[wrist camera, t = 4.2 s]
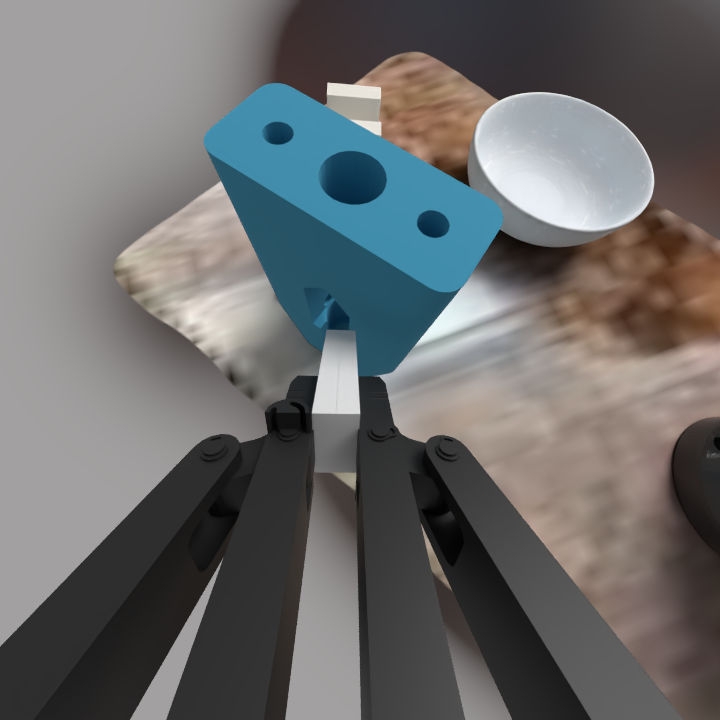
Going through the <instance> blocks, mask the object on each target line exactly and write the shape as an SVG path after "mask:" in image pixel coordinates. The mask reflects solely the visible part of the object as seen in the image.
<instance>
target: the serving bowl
mask: <svg viewBox="0 0 720 720" xmlns="http://www.w3.org/2000/svg"><path fill="white" fill-rule="evenodd" d="M468 178H469V184H470V188H472V189H474V190H476V191H478V192H479V193H481V194H483V195H485V196H487V197H488V198H490V199H491V200H493V201H494V202H495V203H496V204H497V205H498V206H499V207H500V209H501V211H502V214H503V224H502V226H501V228H500V230H502V231H503V232H505V233H507V234H508V235H510V236H512V237H514V238H516V239H518V240H521V241H524V242H527V243H530V244H534V245H539V246H546V247H569V246H576V245H580V244H585V243H588V242H591V241H594V240H597V239H599V238H602V237H604V236H606V235H608V234H610V233H612V232H614V231H616V230H618V229H619V228H621V227H623V226H625V225H626V224H628V223H629V222H631V221H632V220H634V219H635V218H636V217H638V216H639V215H640V214H641V213H642V212H643V210H644V209H645V208H646V206H647V205H648V203H649V201H650V199H651V196H652V192H653V187H654V175H653V169H652V165H651V162H650V160H649V157H648V155H647V153H646V151H645V150H644V148H643V146H642V145H641V143H640V142H639V140H638V139H637V138H636V137H635V135H634V134H633V133H632V132H631V131H630V130H629V129H628V128H627V127H626V126H625V125H624V124H622V123H621V122H620V121H619V120H617V119H616V118H615V117H613V116H612V115H610V114H609V113H607V112H605V111H604V110H602V109H600V108H598V107H596V106H594V105H592V104H590V103H587V102H585V101H582V100H580V99H577V98H573V97H570V96H566V95H561V94H554V93H544V92H542V93H541V92H537V93H536V92H534V93H523V94H518V95H513V96H510V97H507V98H505V99H503V100H500V101H499V102H497V103H495V104H494V105H492V106H491V107H490V108H489V109H487V110H486V111H485V112H484V114H483V115H482V116H481V118H480V120H479V121H478V123H477V125H476V128H475V131H474V134H473V138H472V141H471V145H470V149H469V155H468Z"/></svg>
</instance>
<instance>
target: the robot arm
mask: <svg viewBox="0 0 720 720" xmlns="http://www.w3.org/2000/svg"><path fill="white" fill-rule="evenodd" d="M265 417H266V424H267V430H268V434H267V435H265V436H263V437H261V438H258V439H255V440H251V441H247V442H243V443H239V441H238V440H237V439H236V437H234V436H231V435H226V434H220V435H216V436H211V437H209V438H207V439H205V440H203V441H201V442H200V443H199V444H197V445H196V446H195V447H194V448H193V449H192V450H191V451H190V452H189V453H188V454H187V455H186V456H185V457H184V458H183V459H182V460H181V461H180V462H179V463H178V464H177V465H176V466H175V467H174V468H173V470H172V471H170V472H169V474H168V475H167V476H166V477H165V478H164V479H163V480H162V481H161V482H160V483H159V484H158V485H157V486H156V487H155V488H154V489H153V490H152V491H151V492H150V493H149V494H148V495H147V496H146V497H145V498H144V499H143V500H142V501H141V502H140V503H139V504H138V505H137V507H135V509H134V510H133V511H132V512H131V513H130V514H129V515H128V516H127V517H126V518H125V519H124V520H123V521H122V522H121V523H120V524H119V525H118V526H117V527H116V528H115V529H114V530H113V531H112V532H111V533H110V534H109V535H108V536H107V537H106V538H105V540H103V542H102V543H101V544H100V545H99V546H98V547H97V548H96V549H95V550H94V551H93V552H92V553H91V554H90V555H89V556H88V557H87V558H86V559H85V560H84V561H83V562H82V563H81V564H80V565H79V566H78V567H77V568H76V569H75V570H74V571H73V572H72V573H71V574H70V576H68V578H67V579H66V580H65V581H64V582H63V583H62V584H61V585H60V586H59V587H58V588H57V589H56V590H55V591H54V592H53V593H52V594H51V595H50V596H49V597H48V598H47V599H46V600H45V601H44V602H43V603H42V604H41V605H40V606H39V607H38V608H37V609H36V611H35V612H34V613H33V614H32V615H31V616H30V617H29V618H28V619H27V620H26V621H25V622H24V623H23V624H22V625H21V626H20V627H19V628H18V629H17V630H16V631H15V632H14V633H13V634H12V635H11V636H10V637H9V638H8V639H7V640H6V641H5V642H4V643H3V644H2V645H1V647H0V720H130V719H131V717H132V715H133V713H134V712H135V710H136V708H137V706H138V705H139V703H140V701H141V699H142V697H143V696H144V694H145V692H146V690H147V689H148V687H149V685H150V684H151V682H152V680H153V679H154V677H155V675H156V673H157V672H158V670H159V668H160V666H161V665H162V663H163V661H164V659H165V658H166V656H167V654H168V653H169V651H170V649H171V647H172V646H173V644H174V642H175V640H176V639H177V637H178V635H179V633H180V632H181V630H182V628H183V626H184V625H185V623H186V621H187V619H188V618H189V616H190V614H191V613H192V611H193V609H194V607H195V606H196V604H197V602H198V600H199V599H200V597H201V595H202V593H203V592H204V590H205V588H206V587H207V585H208V583H209V581H210V580H211V578H212V576H213V574H214V573H215V571H216V569H217V568H218V566H219V564H220V562H221V561H222V559H223V561H222V564H221V567H220V570H219V572H218V575H217V578H216V581H215V584H214V587H213V590H212V593H211V595H210V598H209V601H208V604H207V606H206V609H205V612H204V615H203V618H202V621H201V623H200V626H199V629H198V632H197V635H196V638H195V641H194V643H193V646H192V649H191V652H190V655H189V657H188V660H187V663H186V666H185V668H184V672H183V674H182V677H181V680H180V683H179V686H178V688H177V691H176V694H175V697H174V700H173V702H172V705H171V708H170V711H169V714H168V717H167V720H285V716H286V708H287V700H288V692H289V683H290V675H291V667H292V658H293V651H294V643H295V634H296V626H297V618H298V610H299V601H300V593H301V585H302V577H303V569H304V560H305V552H306V544H307V536H308V528H309V520H310V512H311V503H312V495H313V487H314V486H313V473H314V470H315V472H356V491H355V500H356V515H357V558H358V601H359V643H360V686H361V720H465V717H464V713H463V708H462V704H461V699H460V695H459V690H458V687H457V682H456V677H455V673H454V668H453V664H452V660H451V656H450V651H449V647H448V642H447V638H446V633H445V628H444V624H443V620H442V615H441V611H440V606H439V602H438V598H437V593H436V589H435V584H434V580H433V575H432V571H431V567H430V562H429V558H428V553H427V549H426V545H425V540H424V536H423V531H422V527H421V524H422V526H423V528H424V531H425V533H426V535H427V537H428V539H429V541H430V543H431V546H432V548H433V550H434V552H435V554H436V556H437V558H438V561H439V563H440V565H441V567H442V569H443V571H444V574H445V576H446V578H447V580H448V582H449V584H450V586H451V589H452V591H453V593H454V595H455V597H456V599H457V601H458V603H459V606H460V608H461V610H462V612H463V614H464V616H465V619H466V621H467V623H468V625H469V627H470V629H471V632H472V634H473V636H474V638H475V640H476V642H477V644H478V646H479V649H480V651H481V653H482V655H483V657H484V659H485V662H486V664H487V666H488V668H489V670H490V672H491V675H492V677H493V679H494V681H495V683H496V685H497V687H498V690H499V692H500V694H501V696H502V698H503V700H504V702H505V704H506V707H507V709H508V711H509V713H510V715H511V717H512V720H683V718H682V717H681V716H680V715H679V713H678V712H677V711H676V710H675V708H674V707H673V706H672V705H671V703H670V702H669V701H668V700H667V698H666V697H665V696H664V695H663V693H662V692H661V691H660V690H659V688H658V687H657V686H656V685H655V683H654V682H653V681H652V680H651V678H650V677H649V676H648V675H647V673H646V672H645V671H644V669H643V668H642V667H641V666H640V664H639V663H638V662H637V661H636V659H635V658H634V657H633V656H632V654H631V653H630V652H629V651H628V649H627V648H626V647H625V646H624V644H623V643H622V642H621V641H620V639H619V638H618V637H617V636H616V634H615V633H614V632H613V631H612V629H611V628H610V627H609V626H608V624H607V623H606V622H605V621H604V619H603V618H602V617H601V616H600V614H599V613H598V612H597V611H596V609H595V608H594V607H593V605H592V604H591V603H590V602H589V600H588V599H587V598H586V597H585V595H584V594H583V593H582V592H581V590H580V589H579V588H578V587H577V585H576V584H575V583H574V582H573V580H572V579H571V578H570V577H569V575H568V574H567V573H566V572H565V570H564V569H563V568H562V567H561V565H560V564H559V563H558V562H557V560H556V559H555V558H554V557H553V555H552V554H551V553H550V552H549V550H548V549H547V548H546V546H545V545H544V544H543V543H542V541H541V540H540V539H539V538H538V536H537V535H536V534H535V533H534V531H533V530H532V529H531V528H530V526H529V525H528V524H527V523H526V521H525V520H524V519H523V518H522V516H521V515H520V514H519V513H518V511H517V510H516V509H515V508H514V506H513V505H512V504H511V503H510V501H509V500H508V499H507V498H506V496H505V495H504V494H503V493H502V491H501V490H500V489H499V488H498V486H497V485H496V484H495V482H494V481H493V480H492V479H491V477H490V476H489V475H488V474H487V472H486V471H485V470H484V469H483V467H482V466H481V465H480V464H479V462H478V461H477V460H476V459H475V457H474V456H473V455H472V454H471V452H470V451H469V450H468V449H467V447H466V446H464V445H463V444H462V443H461V442H460V441H458V440H456V439H455V438H453V437H449V436H445V435H438V436H434V437H431V438H430V439H429V440H428V441H427V442H426V443H423V442H419V441H415V440H412V439H409V438H407V437H405V436H404V435H402V434H401V433H400V432H399V430H398V428H397V427H396V426H395V425H394V422H393V418H392V413H391V408H390V403H389V399H388V394H387V389H386V384H385V383H384V381H383V380H382V379H381V378H380V377H371V376H358V367H357V349H356V332H355V331H352V330H327V331H326V336H325V342H324V347H323V353H322V359H321V364H320V370H319V375H318V376H297V377H296V378H295V379H294V380H293V381H292V382H291V384H290V387H289V390H288V393H287V396H286V399H285V400H281V401H278V402H275V403H274V404H272V405H271V406H269V407H268V408H267V410H266V411H265ZM674 479H675V484H676V489H677V492H678V496H679V498H680V501H681V504H682V506H683V508H684V510H685V512H686V514H687V516H688V518H689V520H690V521H691V523H692V524H693V526H694V527H695V529H696V530H697V531H698V533H699V534H700V535H701V537H702V538H703V539H704V540H705V541H706V542H707V543H708V544H709V545H710V546H711V547H712V548H713V549H714V550H715V551H716V552H717V553H719V554H720V417H710V418H706V419H702V420H700V421H698V422H696V423H694V424H693V425H691V426H690V427H689V428H688V429H687V430H686V431H685V432H684V433H683V435H682V436H681V438H680V440H679V442H678V444H677V447H676V451H675V456H674ZM224 555H225V556H224ZM223 557H224V558H223Z"/></svg>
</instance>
